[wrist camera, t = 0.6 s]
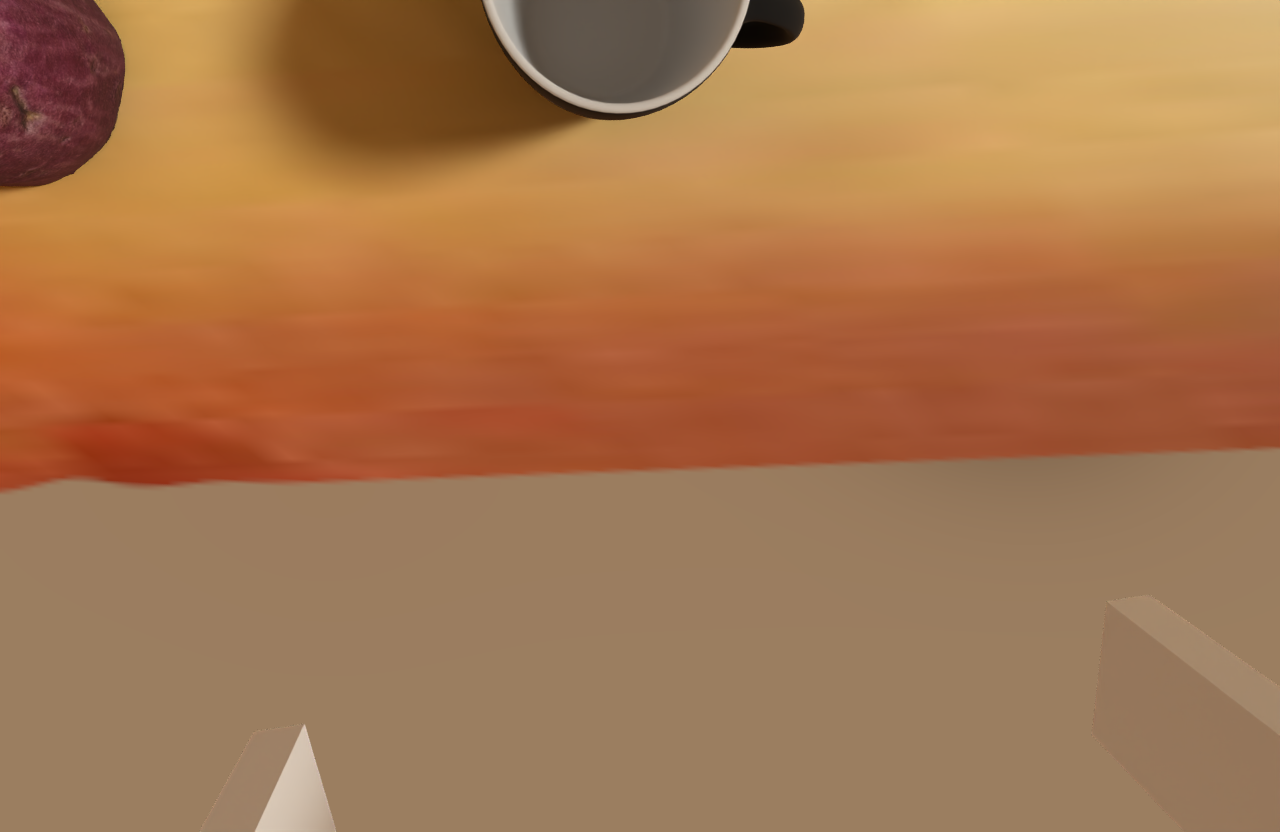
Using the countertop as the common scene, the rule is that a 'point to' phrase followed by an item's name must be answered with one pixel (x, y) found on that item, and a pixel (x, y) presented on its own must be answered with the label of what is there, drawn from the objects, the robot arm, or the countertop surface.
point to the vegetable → (55, 87)
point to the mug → (631, 47)
